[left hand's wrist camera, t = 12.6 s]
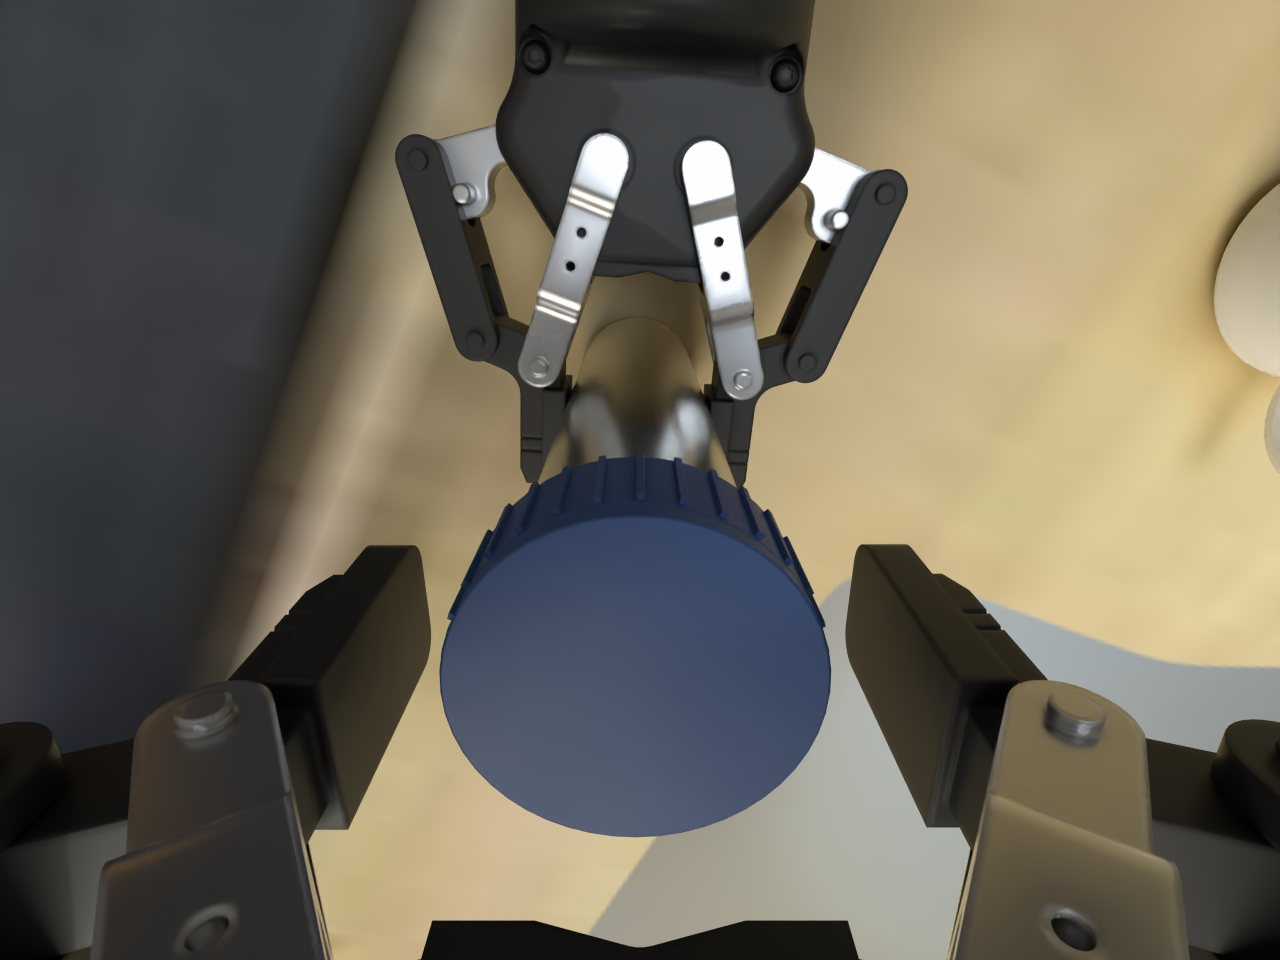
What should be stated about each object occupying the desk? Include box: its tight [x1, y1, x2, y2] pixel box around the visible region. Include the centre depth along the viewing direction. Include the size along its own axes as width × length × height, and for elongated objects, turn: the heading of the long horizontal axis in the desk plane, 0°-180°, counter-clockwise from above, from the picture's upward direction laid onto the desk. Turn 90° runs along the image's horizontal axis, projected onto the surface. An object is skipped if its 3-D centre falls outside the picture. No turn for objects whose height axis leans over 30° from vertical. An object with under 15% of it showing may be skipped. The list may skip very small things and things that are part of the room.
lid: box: [440, 453, 831, 837], centre depth 10 cm, size 5×5×2 cm
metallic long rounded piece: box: [538, 317, 737, 488], centre depth 18 cm, size 4×4×19 cm
